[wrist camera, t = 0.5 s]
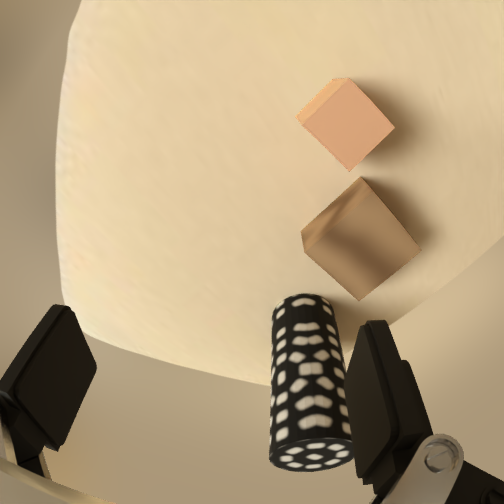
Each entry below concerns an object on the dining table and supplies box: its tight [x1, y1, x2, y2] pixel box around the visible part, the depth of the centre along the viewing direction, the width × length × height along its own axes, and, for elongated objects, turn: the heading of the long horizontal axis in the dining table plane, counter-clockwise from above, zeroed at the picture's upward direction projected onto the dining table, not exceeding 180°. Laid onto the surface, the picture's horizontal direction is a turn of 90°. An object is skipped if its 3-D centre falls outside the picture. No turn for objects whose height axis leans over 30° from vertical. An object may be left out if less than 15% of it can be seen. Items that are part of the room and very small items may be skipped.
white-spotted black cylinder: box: [269, 294, 354, 472], centre depth 33 cm, size 8×8×20 cm
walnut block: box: [301, 177, 421, 301], centre depth 33 cm, size 9×9×5 cm
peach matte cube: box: [295, 78, 395, 172], centre depth 26 cm, size 6×6×7 cm
